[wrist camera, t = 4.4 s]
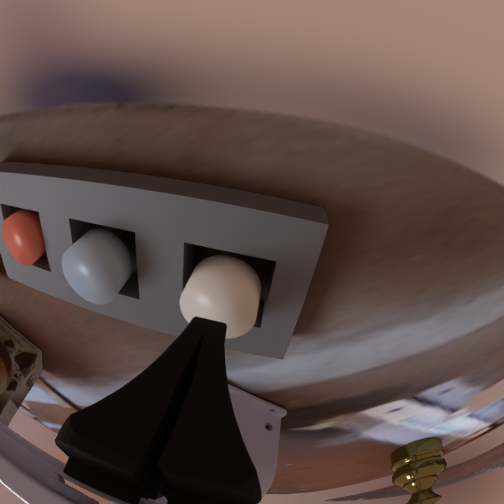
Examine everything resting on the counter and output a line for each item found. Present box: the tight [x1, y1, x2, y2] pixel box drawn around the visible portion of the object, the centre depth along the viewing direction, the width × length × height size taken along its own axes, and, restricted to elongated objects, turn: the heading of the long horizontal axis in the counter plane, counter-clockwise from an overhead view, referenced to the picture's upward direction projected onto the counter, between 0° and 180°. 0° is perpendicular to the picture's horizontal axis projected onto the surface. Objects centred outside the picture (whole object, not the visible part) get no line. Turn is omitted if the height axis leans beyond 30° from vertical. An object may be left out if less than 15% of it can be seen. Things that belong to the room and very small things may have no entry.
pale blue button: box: [62, 228, 133, 305], centre depth 14 cm, size 4×4×2 cm
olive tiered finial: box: [391, 438, 447, 504], centre depth 24 cm, size 7×7×10 cm
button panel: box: [0, 161, 329, 359], centre depth 16 cm, size 22×9×2 cm, turn 81°
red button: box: [2, 208, 46, 266], centre depth 15 cm, size 4×4×2 cm
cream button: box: [180, 255, 261, 339], centre depth 14 cm, size 4×4×2 cm
